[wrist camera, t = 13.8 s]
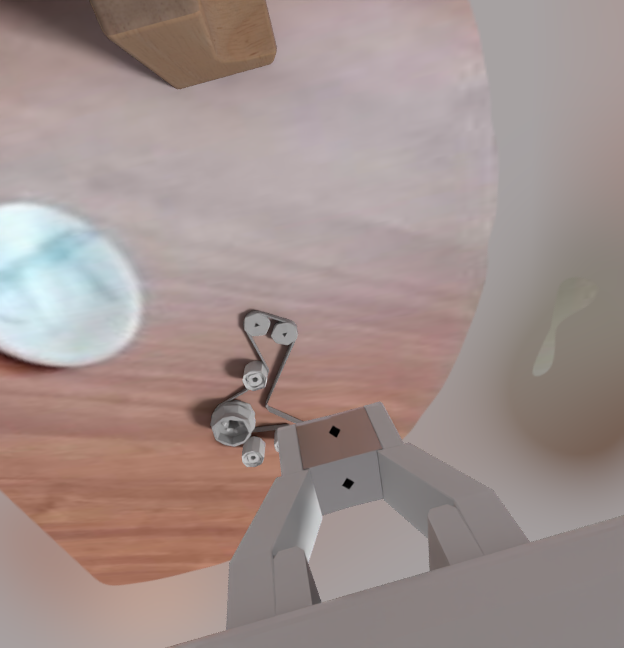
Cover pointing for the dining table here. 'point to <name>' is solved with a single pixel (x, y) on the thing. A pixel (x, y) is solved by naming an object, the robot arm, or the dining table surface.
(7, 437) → the dining table surface
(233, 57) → the wooden block
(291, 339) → the pulley system
